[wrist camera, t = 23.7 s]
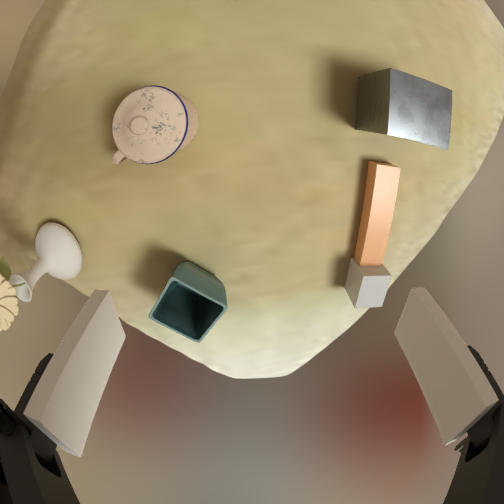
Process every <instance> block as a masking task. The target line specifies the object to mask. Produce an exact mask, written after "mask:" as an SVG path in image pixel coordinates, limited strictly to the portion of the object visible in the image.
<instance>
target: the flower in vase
mask: <svg viewBox="0 0 504 504" xmlns="http://www.w3.org/2000/svg"><path fill="white" fill-rule="evenodd" d="M35 249H36V255H37V258H38V261H37V263H36V264H35V265H34V266H33V267H32V268H31V269H29V270H28V271H26V272H24V273H22V274H12V275H11V268H10V266H9V264H8V263H7V261H6V260H5V258H4V257H3V256H2V257H1V260H0V332H1V330H2V329H3V330H7V329H8V328H9V327H10V326H11V323H10V322H13V321H14V316H16V315H18V310H19V308H18V299H17V296H18V297H19V298H20V299H21V300H23V301H25V302H29V301H30V300H31V298H32V290H33V287H34V285H35V284H36V282H37V281H38V279H39V278H40V277H41V276H42V275H43V274H44V273H46V272H47V273H49V274H50V275H52V276H54V277H56V278H59V279H62V280H67V279H71V278H73V277H75V276H77V275H78V273H79V272H80V270H81V267H82V253H81V249H80V246H79V244H78V242H77V240H76V238H75V237H74V235H73V234H72V233H71V232H70V231H69V230H68V229H67V228H66V227H64V226H62V225H60V224H57V223H46V224H44V225H43V226H42V227H41V228H40V229H39V231H38V233H37V236H36V240H35ZM10 276H11V277H10ZM9 278H10V283H9V282H8V280H9ZM16 295H17V296H16Z"/></svg>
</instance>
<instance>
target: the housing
mask: <svg viewBox="0 0 504 504" xmlns="http://www.w3.org/2000/svg"><path fill="white" fill-rule="evenodd" d="M451 112H452V90H450V89H447V88H445V87H443V86H440V85H438V84H435V83H433V82H430V81H427V80H425V79H422V78H419V77H416V76H414V75H411V74H408V73H405V72H402V71H398V70H395V69H392V68H389V69H385V70H382V71H378V72H375V73H371V74H368V75H365V76H361V77H358V92H357V113H356V128H355V130H362V131H368V132H374V133H380V134H386V135H391V136H395V137H400V138H403V139H407V140H411V141H416V142H420V143H424V144H428V145H432V146H436V147H440V148H443V149H447V150H448V148H449V138H450V127H451Z"/></svg>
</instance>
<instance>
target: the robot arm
mask: <svg viewBox="0 0 504 504" xmlns="http://www.w3.org/2000/svg"><path fill="white" fill-rule="evenodd" d="M394 334H395V336H396V338H397V340H398V342H399V344H400V346H401V348H402V350H403V352H404V353H405V356H406V357H407V360H408V362H409V364H410V366H411V368H412V370H413V372H414V374H415V376H416V379H417V380H418V383H419V385H420V387H421V389H422V392H423V394H424V396H425V398H426V401H427V403H428V405H429V408H430V410H431V412H432V415H433V417H434V420H435V422H436V425H437V427H438V430H439V432H440V434H441V437H442V440H443V443H444V445H447V444H449V443H451V442H453V441H455V440H458V439H459V438H460V437H461V436H462V435H464V434H465V433H466V432H467V433H468V436H467V437H466V438H465V439H464V440H462V441H461V442H460V443H459V444H458V445H457V446H456V448H455V451H456V450H458V449H459V448H460V447H461V446H463V447H462V449H460V451H459V452H461V456H460V459H459V462H458V465H457V468H456V471H455V474H454V477H453V480H452V483H451V485H450V488H449V491H448V493H447V496H446V498H445V500H444V503H443V504H504V395H503V393H502V391H501V390H500V388H499V386H498V384H497V383H496V381H495V379H494V378H493V376H492V374H491V372H490V371H488V367H487V366H486V364H484V361H483V359H482V358H481V356H480V355H479V353H478V352H477V351H476V350H474V349H473V348H472V347H471V346H470V345H469V346H467V345H466V344H465V342H464V341H463V339H462V338H461V336H460V335H459V334H458V332H457V331H456V329H455V328H454V327H453V325H452V324H451V322H450V321H449V319H448V318H447V317H446V315H445V314H444V313H443V311H442V310H441V309H440V307H439V306H438V304H437V303H436V302H435V301H434V299H433V298H432V297H431V295H430V294H429V293H428V292H427V290H426V289H425V288H424V287H418V288H411V291H410V293H409V296H408V299H407V301H406V304H405V307H404V309H403V312H402V314H401V317H400V320H399V322H398V325H397V327H396V329H395V332H394ZM125 337H126V336H125V333H124V331H123V328H122V325H121V323H120V321H119V317H118V315H117V312H116V309H115V306H114V303H113V300H112V297H111V294H110V291H109V290H94V292H93V293H92V295H91V296H90V298H89V299H88V301H87V302H86V304H85V305H84V307H83V308H82V310H81V311H80V313H79V314H78V316H77V317H76V319H75V320H74V322H73V323H72V325H71V327H70V328H69V330H68V331H67V333H66V335H65V336H64V338H63V339H62V341H61V343H60V345H59V346H58V348H57V350H56V351H55V353H54V354H51V353H49V354H48V355H47V356H46V357H44V358H43V359H42V360H41V361H40V363H39V365H38V366H37V368H36V370H35V373H34V374H33V375H32V377H31V381H29V383H28V385H27V387H26V389H25V391H24V392H23V395H22V396H21V398H20V401H19V403H18V405H17V406H16V408H15V410H14V412H13V411H12V410H11V409H10V408H9V407H8V405H7V404H6V403H5V402H4V401H3V400H2V399H0V504H80V502H79V501H78V499H77V496H76V494H75V492H74V490H73V488H72V486H71V484H70V481H69V479H68V477H67V474H66V472H65V470H64V467H63V465H62V462H61V459H60V457H59V454H58V452H57V451H56V450H55V449H56V446H57V445H58V446H59V447H60V448H62V449H63V450H64V451H66V452H68V453H71V454H73V455H76V456H78V457H81V455H82V452H83V449H84V446H85V442H86V439H87V436H88V433H89V430H90V427H91V424H92V421H93V418H94V415H95V413H96V409H97V407H98V404H99V401H100V399H101V396H102V393H103V391H104V388H105V385H106V383H107V380H108V378H109V375H110V373H111V370H112V368H113V365H114V363H115V360H116V358H117V356H118V353H119V351H120V349H121V346H122V344H123V341H124V339H125Z"/></svg>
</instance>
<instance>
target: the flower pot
mask: <svg viewBox="0 0 504 504" xmlns="http://www.w3.org/2000/svg"><path fill="white" fill-rule="evenodd" d="M227 308H228V307H227V299H226V291H225V287H224V285H223V284H222V282H221V281H220V280H219V279H218V278H217V277H215V276H214V275H212V274H210V273H208V272H207V271H205V270H203V269H201V268H200V267H198V266H196V265H195V264H193V263H191V262H182V263H181V264H180V265H179V266H178V267H177V268H176V270H175V271H174V273H173V275H172V276H171V278H170V279H169V281H168V282H167V284H166V286H165V288H164V290H163V291H162V293H161V295H160V296H159V298H158V300H157V302H156V303H155V305H154V307H153V309H152V310H151V312H150V314H149V318H151V319H152V320H154V321H155V322H157V323H159V324H161V325H163V326H165V327H167V328H169V329H171V330H173V331H175V332H177V333H179V334H181V335H183V336H185V337H187V338H189V339H191V340H193V341H195V342H201V341H202V340H203V338H204V337H205V336H206V335H207V333H208V332H209V331H210V329H211V328H212V327H213V326H214V324H215V323H216V322H217V321H218V320H219V318H220V317H221V316H222V315H223V314H224V313H225V312H226V310H227Z"/></svg>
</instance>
